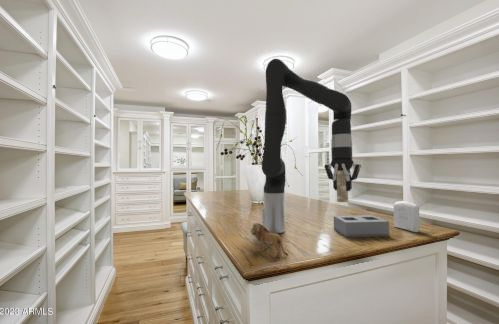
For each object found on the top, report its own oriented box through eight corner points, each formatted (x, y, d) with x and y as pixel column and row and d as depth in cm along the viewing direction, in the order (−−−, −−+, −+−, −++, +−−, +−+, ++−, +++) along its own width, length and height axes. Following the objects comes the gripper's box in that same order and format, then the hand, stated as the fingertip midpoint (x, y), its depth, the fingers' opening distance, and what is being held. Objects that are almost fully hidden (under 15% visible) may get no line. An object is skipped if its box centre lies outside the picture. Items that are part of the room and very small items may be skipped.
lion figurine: (248, 249, 83) (247, 223, 83) (257, 245, 87) (257, 220, 87) (284, 259, 73) (284, 230, 73) (292, 254, 77) (292, 227, 78)
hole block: (346, 237, 95) (345, 222, 95) (333, 229, 107) (333, 216, 107) (389, 236, 96) (389, 221, 96) (372, 228, 108) (372, 215, 108)
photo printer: (421, 231, 102) (420, 202, 102) (415, 232, 100) (414, 203, 100) (398, 226, 111) (397, 199, 111) (392, 227, 110) (391, 200, 110)
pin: (336, 201, 91) (335, 170, 91) (338, 200, 94) (337, 170, 94) (347, 202, 89) (346, 170, 89) (349, 201, 92) (348, 170, 92)
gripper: (320, 147, 94) (320, 190, 93) (357, 144, 84) (358, 192, 84) (328, 148, 99) (328, 188, 99) (364, 145, 89) (365, 190, 89)
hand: (342, 190), depth 91 cm, fingers closed on pin, 4 cm apart
